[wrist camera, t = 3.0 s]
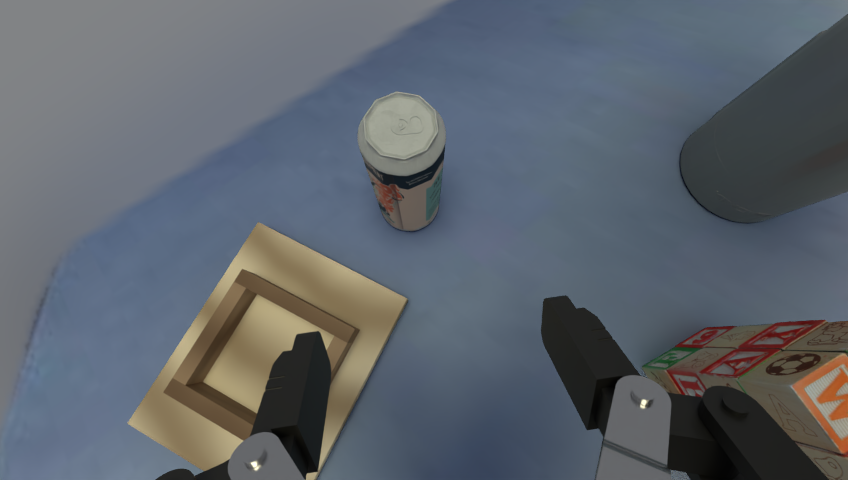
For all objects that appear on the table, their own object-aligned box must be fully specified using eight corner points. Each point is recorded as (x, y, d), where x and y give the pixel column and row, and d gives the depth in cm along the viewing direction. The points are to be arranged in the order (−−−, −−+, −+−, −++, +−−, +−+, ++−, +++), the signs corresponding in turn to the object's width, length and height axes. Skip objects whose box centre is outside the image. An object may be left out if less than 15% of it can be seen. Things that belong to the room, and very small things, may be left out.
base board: (266, 227, 30) (246, 213, 27) (408, 300, 29) (406, 295, 26) (143, 419, 27) (102, 430, 23) (298, 514, 25) (278, 541, 22)
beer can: (378, 181, 32) (351, 89, 20) (434, 175, 32) (440, 80, 20) (383, 236, 30) (357, 172, 19) (442, 229, 30) (452, 161, 19)
